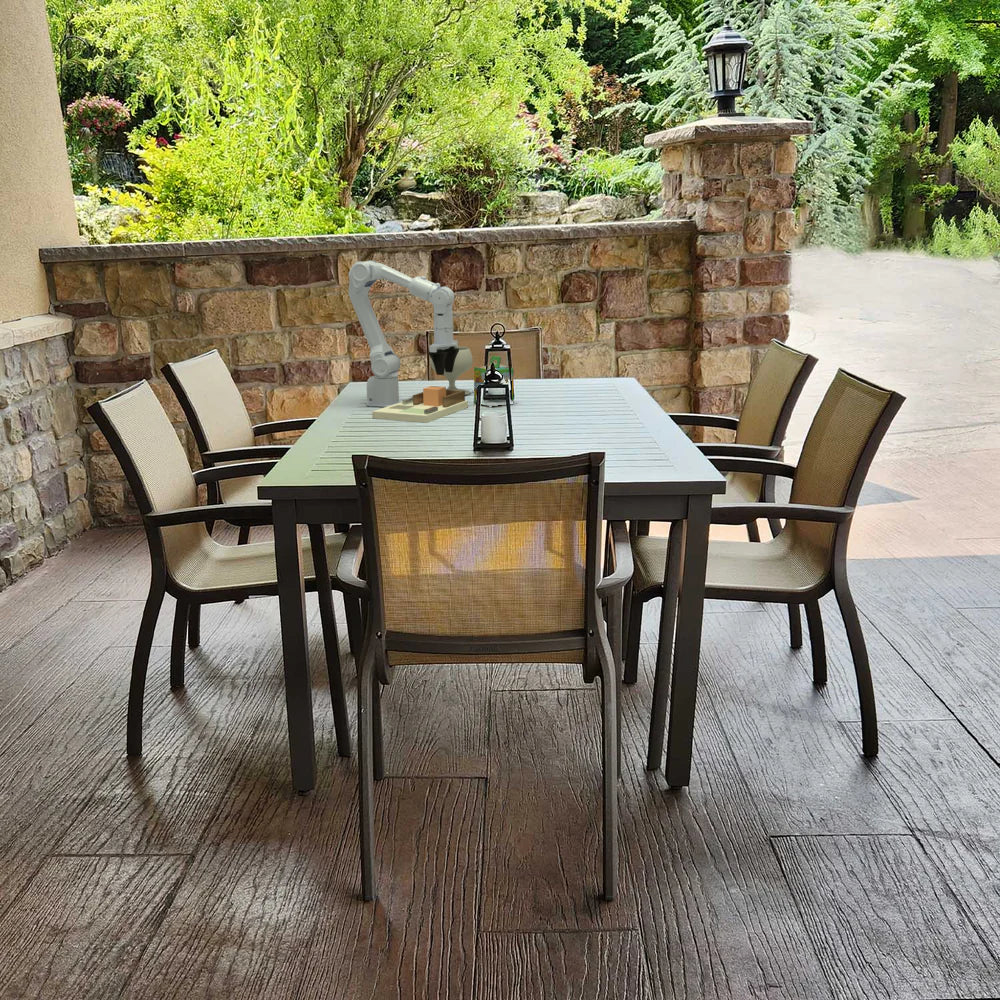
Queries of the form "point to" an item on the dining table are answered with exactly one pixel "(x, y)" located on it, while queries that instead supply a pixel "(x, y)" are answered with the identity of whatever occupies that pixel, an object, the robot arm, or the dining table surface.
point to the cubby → (448, 400)
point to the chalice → (458, 367)
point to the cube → (434, 395)
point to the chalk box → (480, 372)
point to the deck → (415, 412)
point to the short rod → (430, 410)
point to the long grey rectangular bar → (407, 401)
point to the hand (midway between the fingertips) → (444, 373)
